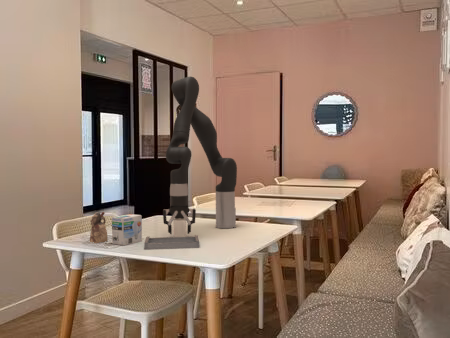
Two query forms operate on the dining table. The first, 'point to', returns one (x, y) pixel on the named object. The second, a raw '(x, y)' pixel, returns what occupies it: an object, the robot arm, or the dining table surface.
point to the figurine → (98, 228)
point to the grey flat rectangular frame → (171, 242)
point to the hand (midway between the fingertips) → (179, 233)
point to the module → (179, 227)
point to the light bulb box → (126, 229)
